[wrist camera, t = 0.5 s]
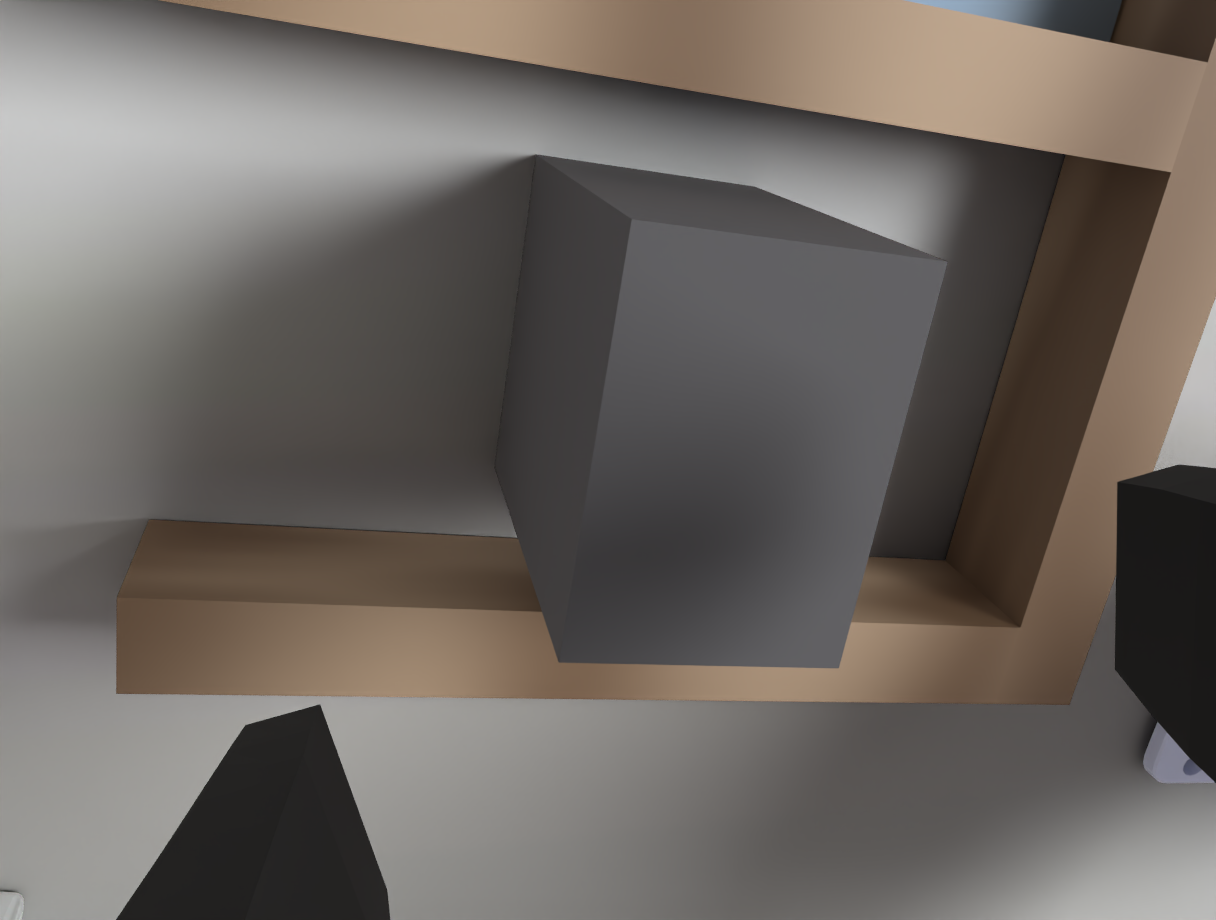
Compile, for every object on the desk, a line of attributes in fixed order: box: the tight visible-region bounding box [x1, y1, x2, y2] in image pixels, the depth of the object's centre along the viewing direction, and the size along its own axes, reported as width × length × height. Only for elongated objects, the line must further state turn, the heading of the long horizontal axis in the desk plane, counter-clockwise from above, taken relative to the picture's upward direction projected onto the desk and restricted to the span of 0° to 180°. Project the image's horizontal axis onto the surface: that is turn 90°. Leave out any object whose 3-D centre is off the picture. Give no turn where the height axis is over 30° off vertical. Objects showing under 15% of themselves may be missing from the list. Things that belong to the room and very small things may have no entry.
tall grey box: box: [495, 155, 948, 668], centre depth 14 cm, size 4×5×6 cm
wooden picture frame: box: [116, 0, 1216, 705], centre depth 14 cm, size 17×20×2 cm
